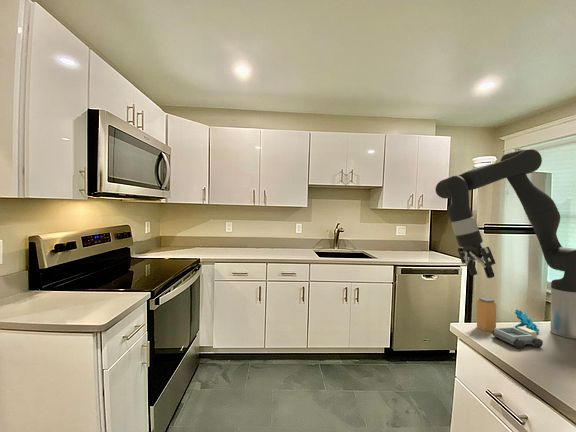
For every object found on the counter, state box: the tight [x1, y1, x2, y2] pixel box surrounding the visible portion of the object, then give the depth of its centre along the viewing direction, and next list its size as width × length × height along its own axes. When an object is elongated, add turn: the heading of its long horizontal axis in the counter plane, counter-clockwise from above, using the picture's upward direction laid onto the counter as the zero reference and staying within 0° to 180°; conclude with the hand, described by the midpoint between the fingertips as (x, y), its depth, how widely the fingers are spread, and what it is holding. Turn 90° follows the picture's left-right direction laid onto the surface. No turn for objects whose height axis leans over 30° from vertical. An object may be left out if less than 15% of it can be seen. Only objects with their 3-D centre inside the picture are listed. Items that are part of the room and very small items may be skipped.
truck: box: [491, 326, 544, 350], centre depth 105 cm, size 11×10×4 cm
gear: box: [514, 309, 540, 335], centre depth 117 cm, size 11×6×10 cm
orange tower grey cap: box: [476, 297, 497, 333], centre depth 117 cm, size 4×4×12 cm
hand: (482, 276), depth 102 cm, fingers open, 8 cm apart
